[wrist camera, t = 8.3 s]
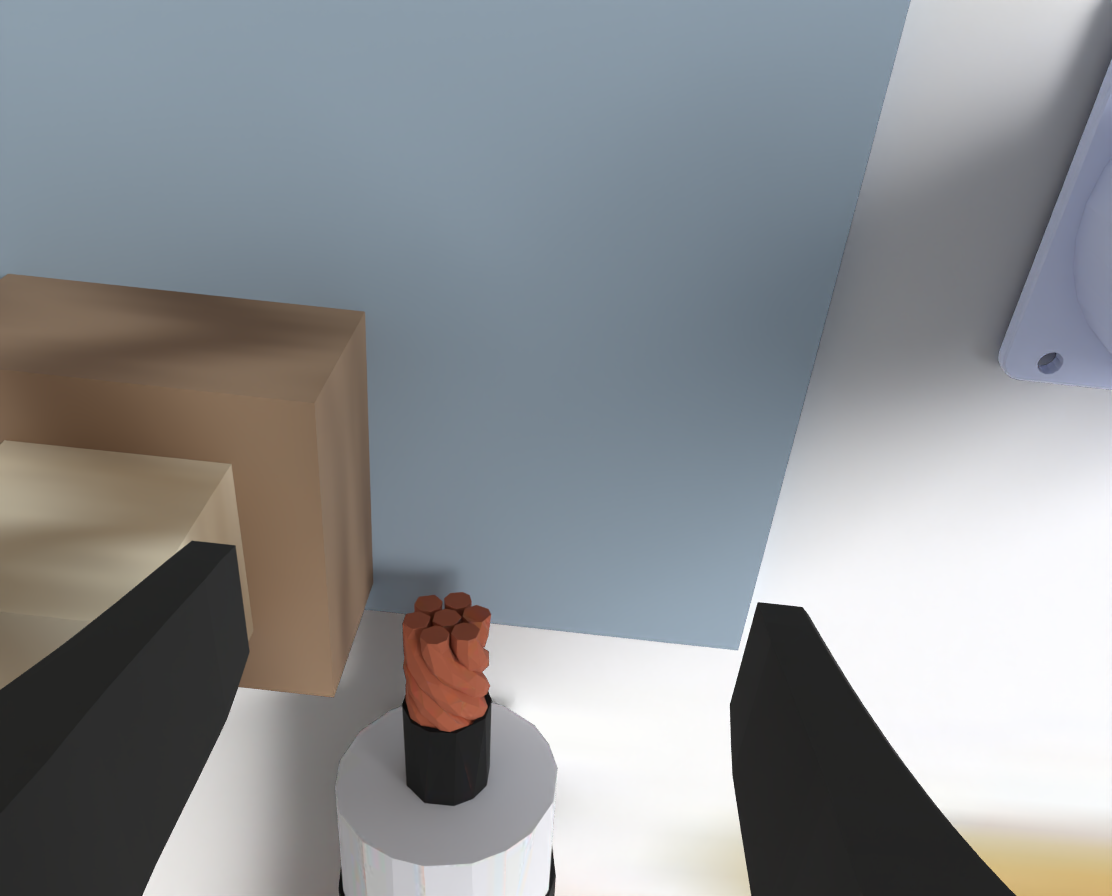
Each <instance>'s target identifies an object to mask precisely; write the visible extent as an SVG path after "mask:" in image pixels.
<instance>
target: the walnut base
mask: <svg viewBox="0 0 1112 896" xmlns="http://www.w3.org/2000/svg"><path fill="white" fill-rule="evenodd" d="M4 440H6V441H16V442H25V443H35V444H45V445H54V446H64V447H73V448H83V449H92V450H102V451H112V452H121V453H131V454H140V455H150V456H159V457H169V458H179V459H188V460H198V461H207V462H217V463H226V464H231V465H232V472H233V480H234V487H235V495H236V502H237V510H238V517H239V525H240V532H241V540H242V547H243V555H244V562H245V570H246V577H247V585H248V592H249V599H250V607H251V614H252V622H253V629H254V631H253V633H252V635H251V637H250V639H249V641H248V643H249V650H250V653H249V656H248V659H247V662H246V665H245V668H244V671H243V674H242V677H241V680H240V683H239V686H238V687H244V688H253V689H262V690H271V691H280V692H289V693H298V694H307V695H316V696H325V697H334V696H335V693H336V690H337V687H338V684H339V682H340V679H341V676H342V673H343V670H344V667H345V664H346V661H347V658H348V655H349V652H350V650H351V647H352V644H353V641H354V638H355V635H356V632H357V629H358V626H359V623H360V620H361V617H362V615H363V612H364V609H365V606H366V603H367V600H368V597H369V594H370V591H371V588H372V585H373V557H372V524H371V491H370V458H369V425H368V392H367V359H366V326H365V311H355V310H346V309H336V308H327V307H318V306H308V305H299V304H289V303H280V302H270V301H261V300H252V299H242V298H233V297H223V296H214V295H205V294H195V293H186V292H176V291H167V290H157V289H148V288H139V287H129V286H120V285H110V284H101V283H92V282H82V281H73V280H63V279H54V278H45V277H35V276H26V275H16V274H7V275H6V276H4V277H3V278H1V279H0V444H1V443H2V442H3V441H4Z"/></svg>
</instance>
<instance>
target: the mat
mask: <svg viewBox="0 0 1112 896" xmlns="http://www.w3.org/2000/svg"><path fill="white" fill-rule="evenodd" d="M910 1H911V0H0V279H1V278H3V277H4V276H6V275H7V274H16V275H26V276H35V277H45V278H54V279H63V280H73V281H82V282H92V283H101V284H110V285H120V286H129V287H139V288H148V289H157V290H167V291H176V292H186V293H195V294H205V295H214V296H223V297H233V298H242V299H252V300H261V301H270V302H280V303H289V304H299V305H308V306H318V307H327V308H336V309H346V310H355V311H365V326H366V359H367V392H368V425H369V458H370V491H371V524H372V557H373V585H372V588H371V591H370V594H369V597H368V600H367V603H366V606H365V610H374V611H383V612H392V613H401V614H408V613H414V604H415V602H416V601H417V599H418V597H420V596H429V595H436V596H437V597H438V598H439V599H440V600H442V601H443V602H442V610H443V609H445V608H444V598H445V597H446V596H447V595H448V594H450V593H456V592H464V593H466V594H469V595H470V598H471V601H472V606H474V605H479V606H482V607H485V608H487V609H489V611H490V613H491V620H490V623H493V624H502V625H511V626H520V627H529V628H538V629H547V630H556V631H566V632H575V633H584V634H593V635H602V636H611V637H620V638H629V639H639V640H648V641H657V642H666V643H675V644H684V645H693V646H702V647H712V648H721V649H730V650H738V648H739V644H740V641H741V637H742V633H743V629H744V626H745V622H746V618H747V614H748V611H749V607H750V603H751V599H752V596H753V592H754V588H755V584H756V580H757V577H758V573H759V569H760V565H761V562H762V558H763V554H764V550H765V547H766V543H767V539H768V535H769V532H770V528H771V524H772V520H773V516H774V513H775V509H776V505H777V501H778V498H779V494H780V490H781V486H782V483H783V479H784V475H785V471H786V468H787V464H788V460H789V456H790V452H791V449H792V445H793V441H794V437H795V434H796V430H797V426H798V422H799V419H800V415H801V411H802V407H803V404H804V400H805V396H806V392H807V388H808V385H809V381H810V377H811V373H812V370H813V366H814V362H815V358H816V355H817V351H818V347H819V343H820V340H821V336H822V332H823V328H824V324H825V321H826V317H827V313H828V309H829V306H830V302H831V298H832V294H833V291H834V287H835V283H836V279H837V276H838V272H839V268H840V264H841V260H842V257H843V253H844V249H845V245H846V242H847V238H848V234H849V230H850V227H851V223H852V219H853V215H854V212H855V208H856V204H857V200H858V196H859V193H860V189H861V185H862V181H863V178H864V174H865V170H866V166H867V163H868V159H869V155H870V151H871V147H872V144H873V140H874V136H875V132H876V129H877V125H878V121H879V117H880V114H881V110H882V106H883V102H884V99H885V95H886V91H887V87H888V83H889V80H890V76H891V72H892V68H893V65H894V61H895V57H896V53H897V50H898V46H899V42H900V38H901V35H902V31H903V27H904V23H905V19H906V16H907V12H908V8H909V4H910ZM472 606H471V607H472Z"/></svg>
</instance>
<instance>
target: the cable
mask: <svg viewBox="0 0 1112 896" xmlns="http://www.w3.org/2000/svg"><path fill="white" fill-rule="evenodd" d="M442 602H443V601H442V600H440V599H439V598H438V597H437V596H436V595H429V596H420V597H418V599H417V601H416V602H415V604H414V613H408V614H406V615H405V618H404V621H403V624H402V626H403V647H404V656H405V658H404V664H403V668H404V673H405V677H406V695H405V698H404V701H403V705H402V706H401V707H398V708H395V709H392V710H390V711H389V712H387V713H386V714H384V715H383V716H381V717H380V718H379V719H377V720H376V721H374V722H373V723H371V724H370V725H368V726H367V727H366V728H364V729H363V730H361V731H360V732H359V733H358V735H357V736H356V738H355V739H354V741H353V742H352V744H351V745H350V746H349V748H348V749H347V751H346V752H345V754H344V755H343V757H342V758H341V760H340V762H339V768H338V774H337V779H336V785H335V792H336V805H337V817H338V830H339V842H340V855H341V872H340V880H339V896H554V893H555V878H556V875H555V866H554V858H553V849H552V837H553V823H554V809H555V796H556V782H557V765H556V763H555V760H554V757H553V754H552V752H551V749H550V746H549V744H548V742H547V741H546V740H545V738H544V737H543V736H542V734H541V733H540V732H539V731H538V729H537V728H536V727H535V725H533V724H532V723H530V722H528V721H527V720H525V719H524V718H522V717H521V716H519V715H517V714H516V713H514V712H513V711H511V710H510V709H508V708H506V707H505V706H502V705H498V704H495V703H492V700H491V697H490V695H489V692H488V690H489V687H490V685H489V682H488V680H487V678H486V677H485V675H484V674H483V673H482V672H483V671H484V670H485V669H486V668H487V667H488V666H489V651H487V650H486V649H484V648H483V647H485V644H486V641H487V638H488V634H489V627H490V620H491V613H490V611H489V609H487V608H485V607H482V606H479V605H474V606H472V601H471V598H470V595H469V594H466V593H464V592H456V593H450V594H448V595H447V596H446V597H445V598H444V608H445V609H443V610H442ZM471 606H472V607H471Z"/></svg>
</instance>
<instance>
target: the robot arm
mask: <svg viewBox="0 0 1112 896" xmlns="http://www.w3.org/2000/svg"><path fill="white" fill-rule="evenodd" d="M1048 353H1056V357H1055V358H1054V360H1053V361H1052V362H1050V363H1048V364H1047V365H1041V366H1039V365H1038V361H1039V360H1040V359H1041V357H1043V356H1044V355H1046V354H1048ZM998 361H999V364H1000V366H1001V368H1002V369H1003V371H1004V372H1005V373H1006V374H1007V375H1008V376H1009V377H1010V378H1014V379H1017V380H1024V381H1033V382H1043V383H1052V384H1061V385H1071V386H1080V387H1090V388H1099V389H1108V390H1112V59H1111V62H1110V64H1109V67H1108V70H1107V72H1106V75H1105V77H1104V80H1103V83H1102V85H1101V88H1100V90H1099V93H1098V96H1097V98H1096V101H1095V103H1094V106H1093V109H1092V111H1091V114H1090V116H1089V119H1088V122H1087V124H1086V127H1085V129H1084V132H1083V135H1082V137H1081V140H1080V142H1079V145H1078V148H1077V150H1076V153H1075V155H1074V158H1073V161H1072V163H1071V166H1070V168H1069V171H1068V174H1067V176H1066V179H1065V181H1064V184H1063V187H1062V189H1061V192H1060V194H1059V197H1058V200H1057V202H1056V205H1055V207H1054V210H1053V213H1052V215H1051V218H1050V220H1049V223H1048V226H1047V228H1046V231H1045V233H1044V236H1043V239H1042V241H1041V244H1040V246H1039V249H1038V252H1037V254H1036V257H1035V259H1034V262H1033V265H1032V267H1031V270H1030V272H1029V275H1028V278H1027V280H1026V283H1025V285H1024V288H1023V291H1022V293H1021V296H1020V298H1019V301H1018V304H1017V306H1016V309H1015V311H1014V314H1013V317H1012V319H1011V322H1010V324H1009V327H1008V330H1007V332H1006V335H1005V337H1004V340H1003V343H1002V345H1001V348H1000V350H999V355H998ZM249 653H250V650H249V643H248V635H247V628H246V620H245V613H244V605H243V598H242V590H241V583H240V575H239V567H238V560H237V552H236V545H228V544H219V543H210V542H201V541H191V542H189V543H188V544H187V545H186V546H184V547H183V548H182V549H181V550H179V551H178V552H177V553H176V554H174V555H173V556H172V557H170V558H169V559H168V560H167V561H166V562H164V563H163V564H162V565H161V566H160V567H158V568H157V569H156V570H155V571H153V572H152V573H151V574H150V575H149V576H147V577H146V578H145V579H144V580H143V581H141V582H140V583H139V584H138V585H137V586H135V587H134V588H133V589H132V590H130V591H129V592H128V593H127V594H126V595H124V596H123V597H122V598H121V599H119V600H118V601H117V602H116V603H115V604H113V605H112V606H111V607H110V608H108V609H107V610H106V611H105V612H103V613H102V614H101V615H99V616H98V617H97V618H96V619H94V620H93V621H92V622H91V623H89V624H88V625H87V626H86V627H84V628H83V629H82V630H80V631H79V632H78V633H77V634H75V635H74V636H73V637H72V638H70V639H69V640H68V641H66V642H65V643H64V644H62V645H61V646H60V647H59V648H57V649H56V650H55V651H53V652H52V653H50V654H49V655H48V656H46V657H45V658H43V659H42V660H41V661H39V662H38V663H37V664H35V665H34V666H32V667H31V668H30V669H28V670H27V671H25V672H24V673H23V674H21V675H20V676H19V677H17V678H16V679H14V680H13V681H12V682H10V683H9V684H7V685H6V686H5V687H3V688H2V689H0V896H142V895H143V892H144V890H145V888H146V886H147V883H148V881H149V879H150V877H151V874H152V872H153V870H154V868H155V865H156V863H157V861H158V859H159V857H160V855H161V853H162V851H163V849H164V847H165V845H166V843H167V841H168V839H169V837H170V835H171V833H172V831H173V829H174V827H175V825H176V823H177V821H178V819H179V817H180V815H181V813H182V810H183V808H184V806H185V804H186V802H187V800H188V798H189V796H190V794H191V792H192V790H193V788H194V786H195V784H196V782H197V780H198V778H199V776H200V774H201V772H202V770H203V768H204V766H205V764H206V762H207V760H208V758H209V755H210V753H211V751H212V749H213V747H214V745H215V743H216V741H217V739H218V737H219V735H220V733H221V730H222V728H223V726H224V724H225V722H226V720H227V717H228V715H229V712H230V709H231V706H232V703H233V701H234V698H235V695H236V692H237V689H238V686H239V683H240V680H241V677H242V674H243V671H244V668H245V665H246V662H247V659H248V656H249ZM730 724H731V752H732V774H733V781H734V788H735V795H736V801H737V808H738V814H739V821H740V827H741V834H742V840H743V846H744V853H745V859H746V865H747V871H748V878H749V884H750V890H751V896H1016V895H1015V894H1014V893H1013V892H1012V891H1011V890H1010V889H1009V888H1008V887H1007V886H1006V885H1005V884H1004V883H1003V882H1002V881H1001V880H1000V878H999V877H998V876H997V875H996V874H995V873H994V872H993V871H992V870H991V869H990V868H989V867H988V866H987V865H986V863H985V862H984V861H983V860H982V859H981V858H980V857H979V856H978V854H977V853H976V852H975V851H974V850H973V849H972V848H971V846H970V845H969V844H968V843H967V842H966V841H965V840H964V838H963V837H962V836H961V835H960V834H959V833H958V831H957V830H956V829H955V828H954V827H953V826H952V824H951V823H950V822H949V821H948V819H947V818H946V817H945V816H944V815H943V813H942V812H941V811H940V810H939V808H938V807H937V806H936V805H935V803H934V802H933V801H932V800H931V798H930V797H929V796H928V795H927V793H926V792H925V791H924V789H923V788H922V787H921V785H920V784H919V783H918V781H917V780H916V779H915V777H914V776H913V775H912V773H911V772H910V771H909V770H908V768H907V767H906V766H905V764H904V763H903V761H902V760H901V759H900V757H899V756H898V754H897V753H896V752H895V750H894V749H893V748H892V746H891V745H890V743H889V742H888V740H887V739H886V737H885V736H884V735H883V733H882V732H881V730H880V729H879V727H878V726H877V724H876V723H875V721H874V720H873V718H872V717H871V715H870V714H869V712H868V711H867V710H866V708H865V707H864V705H863V704H862V702H861V701H860V699H859V697H858V696H857V694H856V693H855V691H854V690H853V688H852V687H851V685H850V683H849V682H848V680H847V679H846V677H845V675H844V674H843V672H842V670H841V669H840V667H839V666H838V664H837V662H836V661H835V659H834V657H833V656H832V654H831V652H830V651H829V649H828V647H827V646H826V644H825V642H824V641H823V639H822V637H821V636H820V634H819V632H818V630H817V629H816V627H815V625H814V624H813V622H812V620H811V618H810V617H809V615H808V614H807V612H806V611H805V610H804V609H803V607H797V606H788V605H779V604H769V603H760V602H758V603H757V607H756V611H755V614H754V618H753V622H752V625H751V629H750V633H749V636H748V640H747V644H746V647H745V651H744V655H743V658H742V662H741V666H740V670H739V673H738V677H737V681H736V684H735V688H734V692H733V695H732V699H731V703H730Z"/></svg>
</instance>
